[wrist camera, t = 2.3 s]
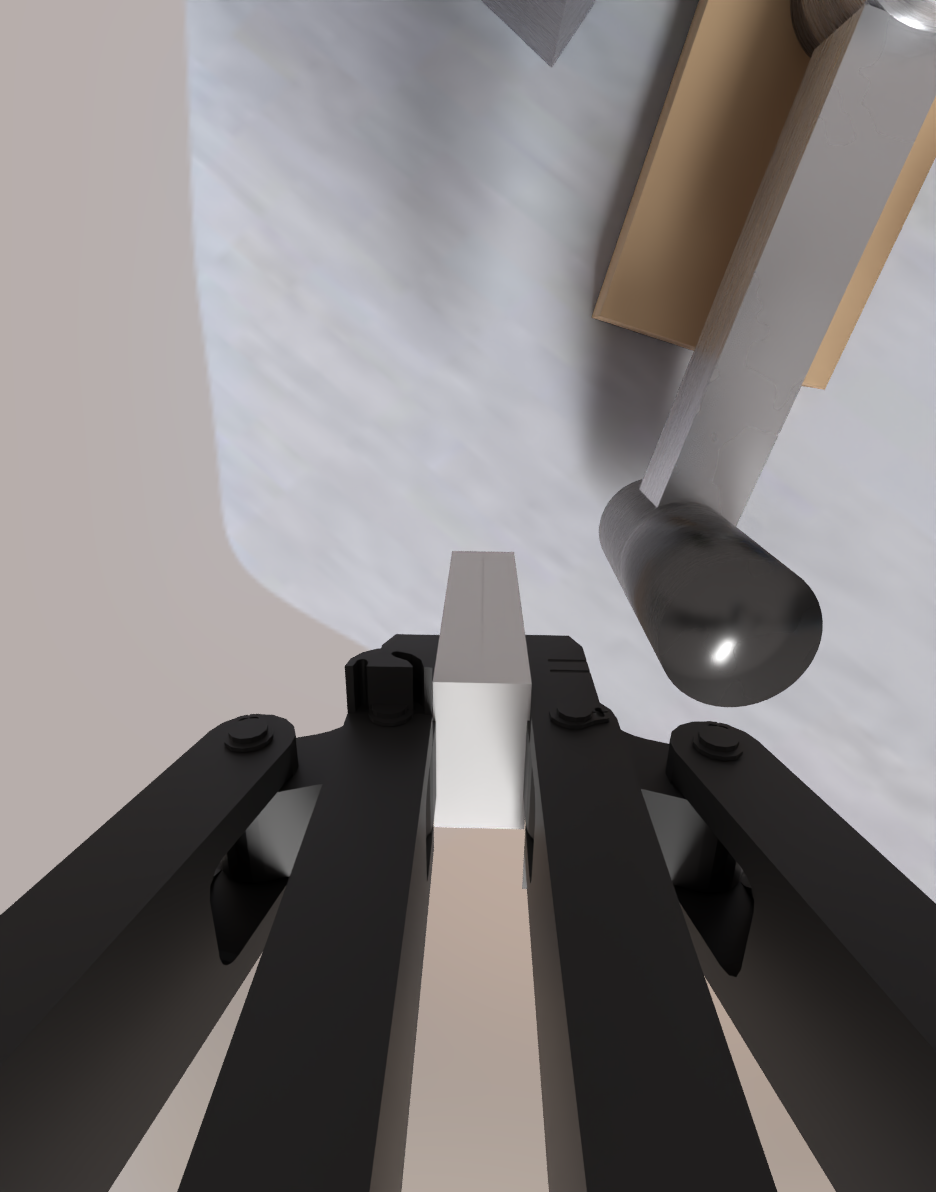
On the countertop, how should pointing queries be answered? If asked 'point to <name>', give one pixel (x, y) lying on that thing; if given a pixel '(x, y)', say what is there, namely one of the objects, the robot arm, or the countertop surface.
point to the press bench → (729, 180)
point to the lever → (769, 363)
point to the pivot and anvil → (558, 6)
